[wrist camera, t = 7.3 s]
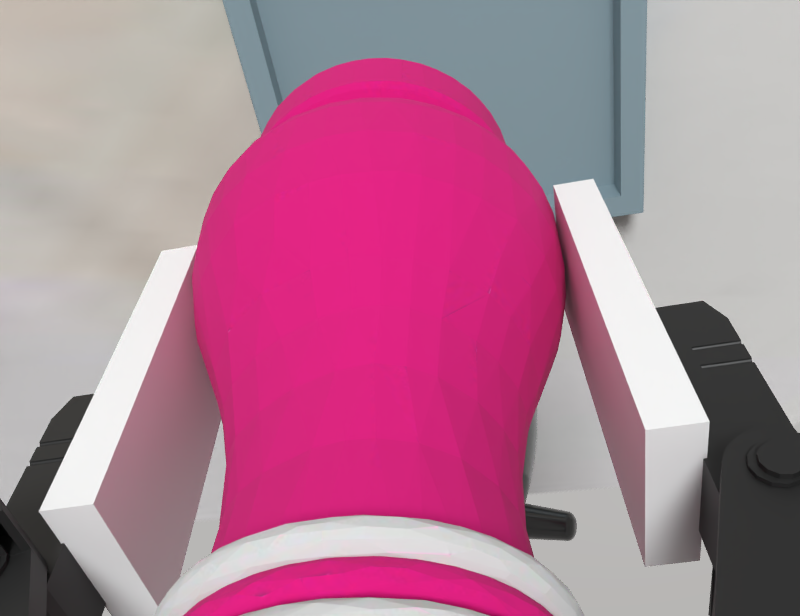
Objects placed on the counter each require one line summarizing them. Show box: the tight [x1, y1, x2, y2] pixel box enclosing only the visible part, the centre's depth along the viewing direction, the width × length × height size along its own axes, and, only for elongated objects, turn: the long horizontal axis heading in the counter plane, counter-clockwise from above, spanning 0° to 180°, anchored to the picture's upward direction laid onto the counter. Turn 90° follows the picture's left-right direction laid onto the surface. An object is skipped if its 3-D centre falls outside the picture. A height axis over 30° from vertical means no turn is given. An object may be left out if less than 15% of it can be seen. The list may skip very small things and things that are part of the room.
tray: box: [223, 0, 647, 221], centre depth 32 cm, size 16×16×2 cm
